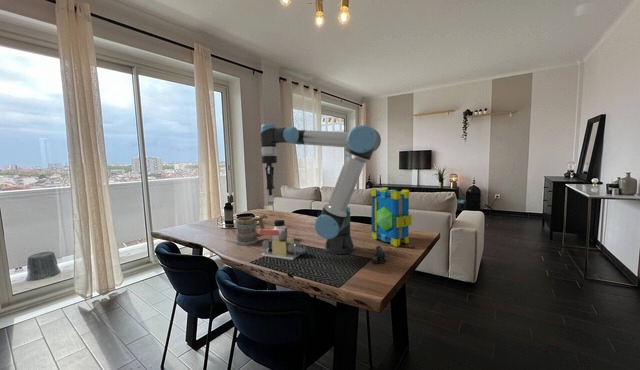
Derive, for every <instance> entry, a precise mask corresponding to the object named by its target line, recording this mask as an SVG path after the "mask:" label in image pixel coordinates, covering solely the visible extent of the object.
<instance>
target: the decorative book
mask: <svg viewBox="0 0 640 370" xmlns="http://www.w3.org/2000/svg"><path fill="white" fill-rule="evenodd" d="M370 196H371V235H370V236H371V239H372V238H374V239H378V240H380V241H383V242H386V243H389V244H390V246H391V245H394V246H396V247H397V246H398V247H399V246H400V245H401V243H403V244H406V245H408V244H407V243H409V242H410V237H409V226H412V214H409V209H410V208H409V207H410V206H409V202H410V200H409V198H410V189H401V191H398V190H397V189H389V188H388V187H384V186H383V187H381V188H380V189H377V188H370ZM374 239H373V240H374ZM409 244H410V243H409ZM396 247H395V248H396ZM398 247H397V248H398Z"/></svg>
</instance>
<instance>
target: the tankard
mask: <svg viewBox="0 0 640 370" xmlns="http://www.w3.org/2000/svg"><path fill="white" fill-rule="evenodd" d="M268 217H269V216H268V215H265V214H263V215H260V216H259V217H253V216H245V217H238V218H236V219H235V223H234V227H235V228H236V230H235V236H236V239H234V244H236V245H238V246H250V245H254V244H256V243H258V242H259V238H260V237H263V236H264V235H259V232H258V231H257V230H256V228H257V221H258V225H259V227H260V229H266V228H265V226H264V223H263V221H264V220H263V219H266V220H267V219H268Z"/></svg>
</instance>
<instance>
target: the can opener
mask: <svg viewBox="0 0 640 370" xmlns="http://www.w3.org/2000/svg"><path fill="white" fill-rule="evenodd" d="M375 249H376V254H377V255H374V256H372V257H371V262H372V263H373V264H379V263H380V264H384V263H386V262H387V255H388V254H387V252H384V251H383V248H382V246H381V245H377V246H376V247H375Z"/></svg>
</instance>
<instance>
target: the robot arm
mask: <svg viewBox="0 0 640 370" xmlns="http://www.w3.org/2000/svg"><path fill="white" fill-rule="evenodd" d="M259 134H260V144H261V145H260V146H261V148H260V149H259V150H260V152H261V155H262V156H261V163H262V164H266V166H265V175H266V188H265V190H267V202H269V203H271V202H275V199H274V198H275V197H274V196H275V195H274V189H275V188H276V187H275V186H274V173H275V171H274V170H275V167H274V166H273V164H277V163H278V158H277V154H278V153H277V144H293V145H294V144H295V145H298V146H299V145H300V146H301V145H303V146H305V145H306V146H308V145H309V146H320V147H331V148H332V147H334V148H335V147H336V148H346V149H345V154H346V158H345V161H344V163H343V165H342V167H341V169H340V172H339V176H338V178H337V180H336V183H335V186H334V189H333V192H332V193H331V196H330V198H329V202H328V203H327V204H324V205H323V207H322V210H321V213H320V215H319V216H317V218H316V219H315V221H314V230H315V232H316V234H317V235H318V236H319V237H321V238H322V239H324V240H326V241H325V246H324V249H325V252H326V253H329V254H334V255H346V254H350V253H353V252H354V250H355V246H354V242H353V239H352V236H351V208H350V207H349V206H348V205H349V203H350V201H351V197H352V196H353V194H354V191H355V189H356V186H357V183H358V181H359V178H360V176H361V174H362V171H363V168H364V166H365V164H366V163H367V162H369V161H371V158H372V155H373V153H374V152H376V151H377V150H378V149H379V147H380V146H381V143H382V138H381V135H380V133H379V132H378V131H377V130H376V129H375V128H373V127H371V126H369V125H365V124H361V125H356V126H355V127H353V128H352V129H351V130H350V131H349V132H348V131H332V130H331V131H329V130H306V129H297V127H296V126H287V127H276V125H275V124H272V123H263V124H261V126H260V133H259Z"/></svg>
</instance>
